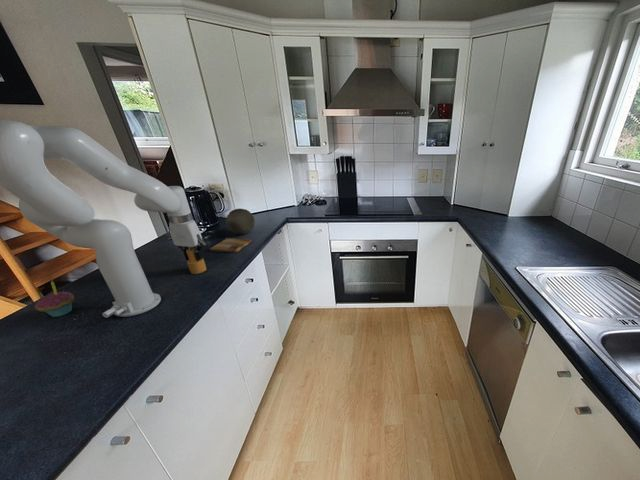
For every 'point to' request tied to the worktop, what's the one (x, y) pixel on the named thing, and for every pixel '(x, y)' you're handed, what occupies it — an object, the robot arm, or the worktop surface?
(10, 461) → the worktop surface
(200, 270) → the squash
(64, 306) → the cupcake
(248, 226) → the cantaloupe
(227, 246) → the board
